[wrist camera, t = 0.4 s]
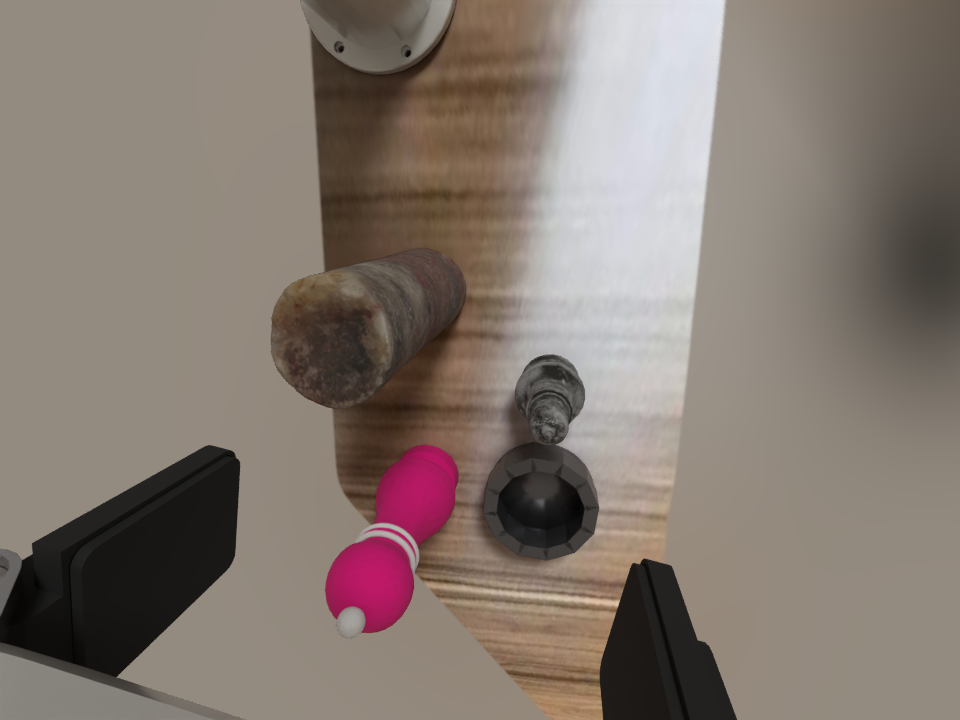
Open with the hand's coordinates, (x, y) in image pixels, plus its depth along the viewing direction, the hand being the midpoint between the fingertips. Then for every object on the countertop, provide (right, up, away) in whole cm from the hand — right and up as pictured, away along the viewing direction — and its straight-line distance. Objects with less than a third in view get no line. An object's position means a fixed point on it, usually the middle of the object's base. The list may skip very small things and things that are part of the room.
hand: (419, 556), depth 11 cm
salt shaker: (+8, +3, +33) cm, 34 cm away
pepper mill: (-4, -7, +37) cm, 38 cm away
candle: (-3, +11, +32) cm, 34 cm away
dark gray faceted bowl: (+7, -8, +36) cm, 38 cm away
